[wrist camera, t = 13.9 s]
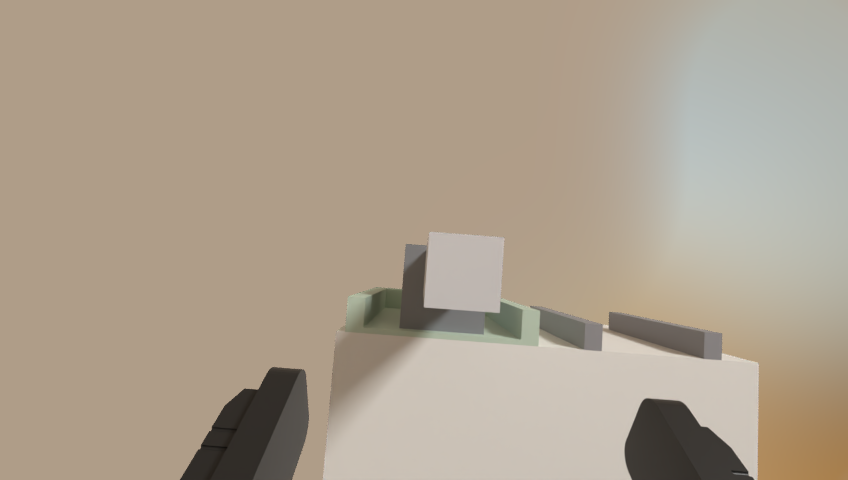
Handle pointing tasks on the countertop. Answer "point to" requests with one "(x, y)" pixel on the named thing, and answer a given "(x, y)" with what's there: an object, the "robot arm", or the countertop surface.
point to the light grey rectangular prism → (451, 283)
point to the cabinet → (520, 393)
